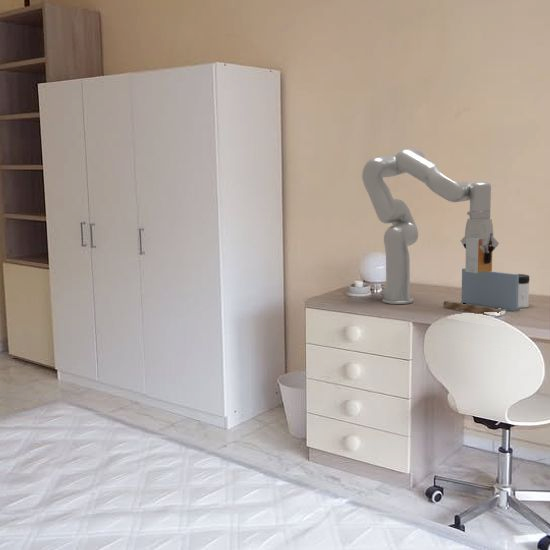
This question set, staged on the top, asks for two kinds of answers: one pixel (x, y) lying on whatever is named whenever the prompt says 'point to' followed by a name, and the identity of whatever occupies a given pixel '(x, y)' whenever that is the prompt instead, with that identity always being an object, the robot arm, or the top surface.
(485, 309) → the cleat ledge
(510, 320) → the top surface
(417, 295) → the top surface
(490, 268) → the small box
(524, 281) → the jar
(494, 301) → the wall board
